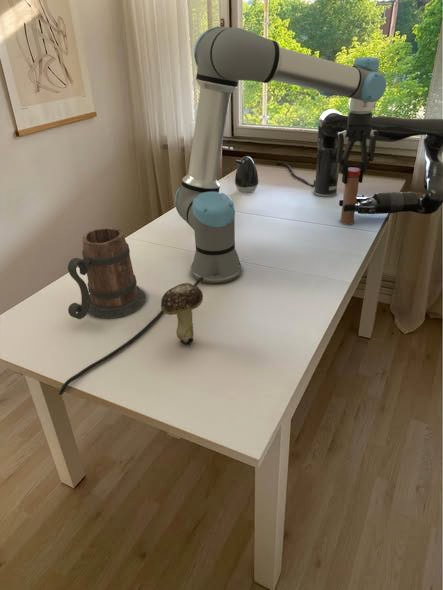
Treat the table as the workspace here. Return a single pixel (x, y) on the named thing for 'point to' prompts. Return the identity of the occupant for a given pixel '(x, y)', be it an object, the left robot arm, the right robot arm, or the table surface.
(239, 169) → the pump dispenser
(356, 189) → the jar
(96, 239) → the tankard
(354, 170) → the lid
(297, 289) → the table surface
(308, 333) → the table surface
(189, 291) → the mushroom
